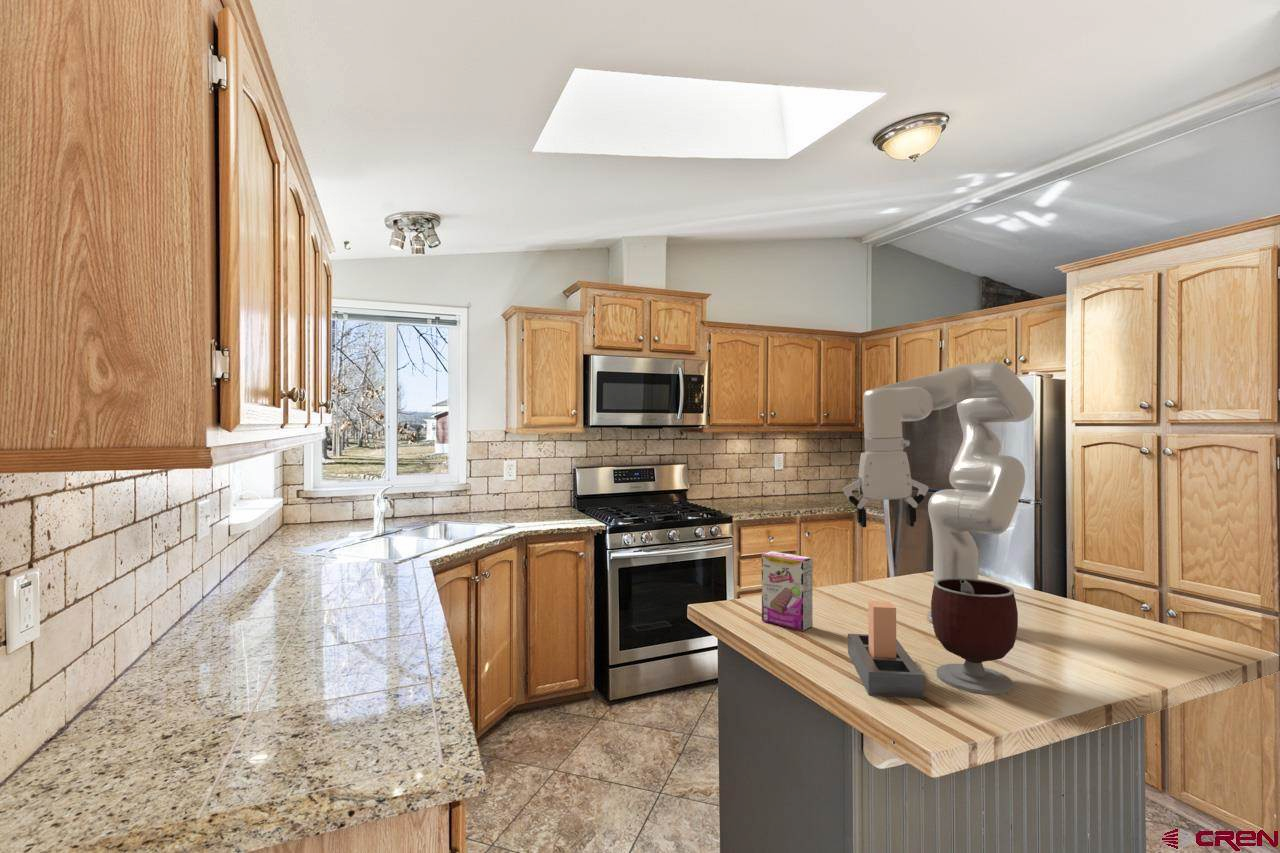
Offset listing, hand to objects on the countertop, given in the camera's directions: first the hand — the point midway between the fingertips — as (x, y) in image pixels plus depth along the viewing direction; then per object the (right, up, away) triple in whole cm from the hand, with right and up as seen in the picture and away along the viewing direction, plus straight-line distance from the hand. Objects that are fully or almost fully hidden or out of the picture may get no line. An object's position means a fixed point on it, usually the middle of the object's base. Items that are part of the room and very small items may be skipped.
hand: (886, 525), depth 128 cm
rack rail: (-7, -25, -16) cm, 31 cm away
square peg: (-7, -25, -16) cm, 31 cm away
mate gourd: (+8, -25, -19) cm, 33 cm away
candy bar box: (-18, -26, +13) cm, 34 cm away
